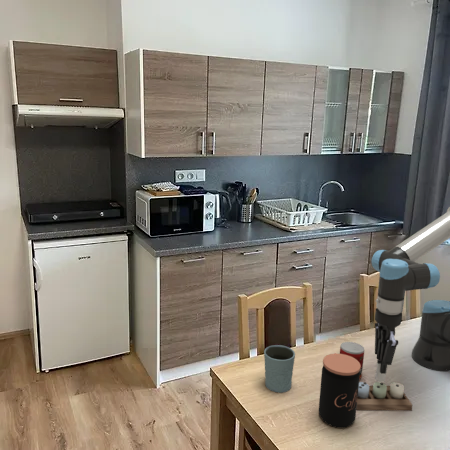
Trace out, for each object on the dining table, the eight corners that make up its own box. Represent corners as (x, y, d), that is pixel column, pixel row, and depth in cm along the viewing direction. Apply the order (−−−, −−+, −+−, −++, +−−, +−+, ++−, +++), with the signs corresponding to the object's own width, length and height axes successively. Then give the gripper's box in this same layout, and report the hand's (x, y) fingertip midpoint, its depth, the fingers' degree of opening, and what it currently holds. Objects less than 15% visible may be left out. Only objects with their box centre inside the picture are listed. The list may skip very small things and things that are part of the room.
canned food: (362, 383, 149) (365, 353, 146) (338, 380, 150) (341, 350, 148) (360, 371, 156) (363, 343, 154) (337, 368, 158) (339, 340, 155)
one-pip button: (399, 391, 141) (401, 381, 141) (405, 398, 137) (406, 389, 137) (387, 391, 141) (388, 381, 140) (392, 398, 137) (393, 388, 137)
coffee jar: (332, 433, 124) (338, 376, 120) (311, 410, 134) (315, 357, 130) (362, 423, 128) (369, 368, 124) (339, 402, 138) (344, 350, 134)
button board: (398, 391, 145) (399, 385, 144) (411, 410, 135) (412, 404, 135) (347, 390, 144) (347, 385, 144) (356, 410, 135) (357, 404, 134)
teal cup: (281, 397, 140) (283, 363, 137) (256, 384, 146) (257, 352, 144) (298, 384, 147) (301, 352, 144) (274, 373, 154) (276, 341, 151)
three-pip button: (365, 390, 141) (366, 381, 140) (370, 398, 137) (371, 388, 136) (353, 390, 141) (354, 381, 140) (357, 398, 137) (358, 388, 136)
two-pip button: (382, 391, 141) (384, 381, 140) (387, 398, 137) (388, 388, 137) (370, 390, 141) (371, 381, 140) (375, 398, 137) (376, 388, 136)
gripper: (369, 301, 139) (361, 368, 144) (384, 319, 126) (375, 392, 131) (392, 302, 139) (384, 369, 144) (410, 319, 127) (400, 392, 132)
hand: (380, 380), depth 138 cm, fingers closed
